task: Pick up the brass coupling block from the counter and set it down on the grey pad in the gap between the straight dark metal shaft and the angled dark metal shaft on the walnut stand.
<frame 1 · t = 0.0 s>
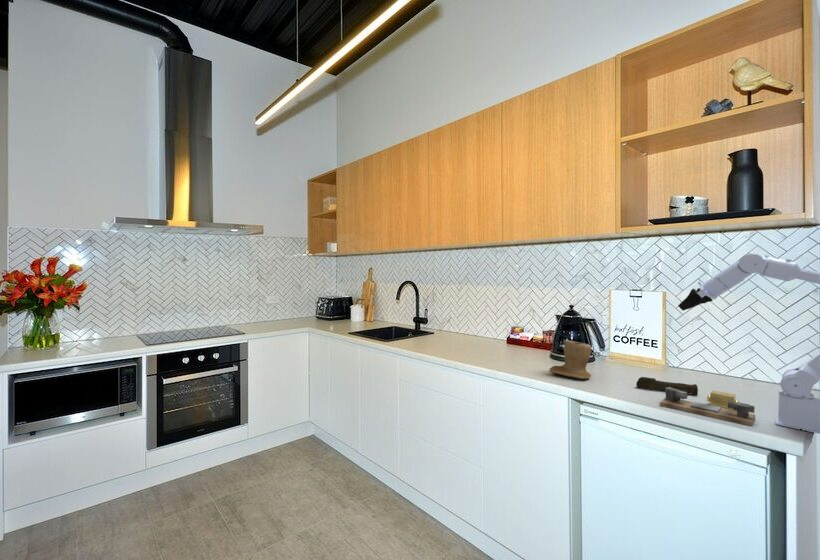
hand: (683, 307, 132), 32 cm above the countertop, tool tilted 50°, fingers open, 7 cm apart
shaft stand: (705, 411, 123), on the countertop
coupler: (722, 407, 127), on the countertop
brown flared stand: (572, 376, 164), on the countertop
hand tool: (666, 392, 143), on the countertop
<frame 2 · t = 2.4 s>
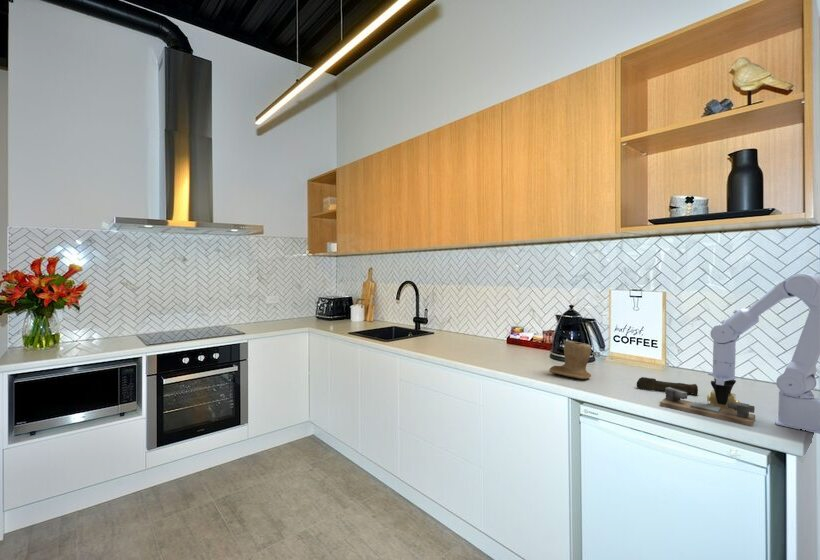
hand: (722, 402, 127), 1 cm above the countertop, tool pointing down, fingers closed on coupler, 4 cm apart
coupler: (722, 406, 127), on the countertop, touching gripper
everything else where it was.
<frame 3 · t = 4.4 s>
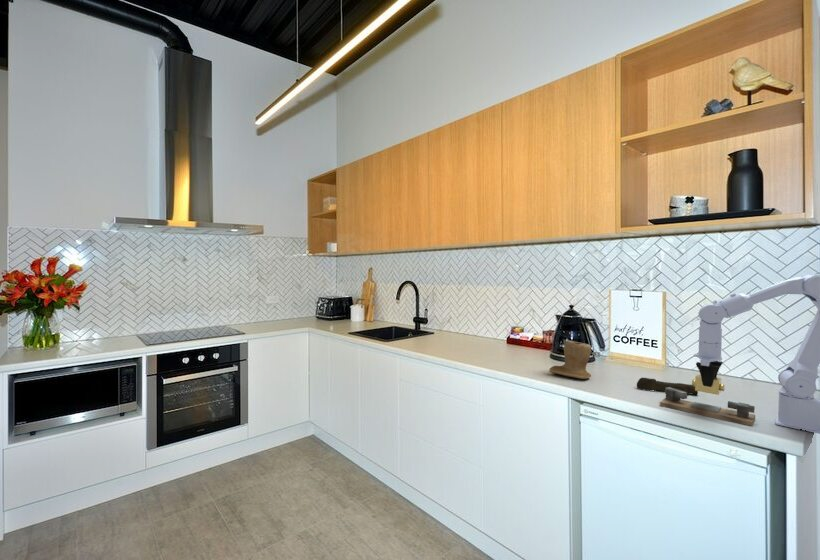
hand: (708, 384, 123), 8 cm above the countertop, tool pointing down, fingers closed on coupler, 4 cm apart
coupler: (707, 391, 124), point 6 cm above the countertop, touching gripper
everything else where it was.
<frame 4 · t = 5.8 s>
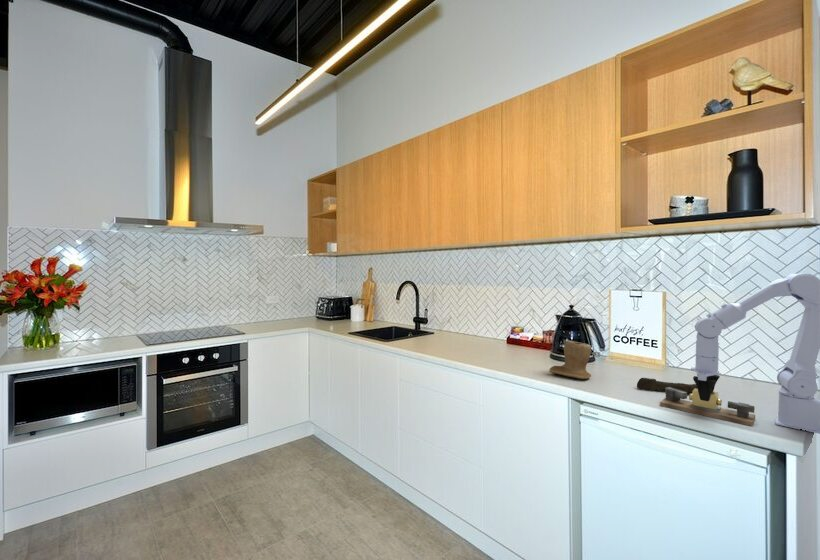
hand: (705, 398, 123), 4 cm above the countertop, tool pointing down, fingers closed on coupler, 4 cm apart
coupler: (705, 405, 123), point 2 cm above the countertop, touching gripper
everything else where it was.
when the fingers open (4 cm above the countertop, at t = 6.4 s): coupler stays where it is, resting on shaft stand.
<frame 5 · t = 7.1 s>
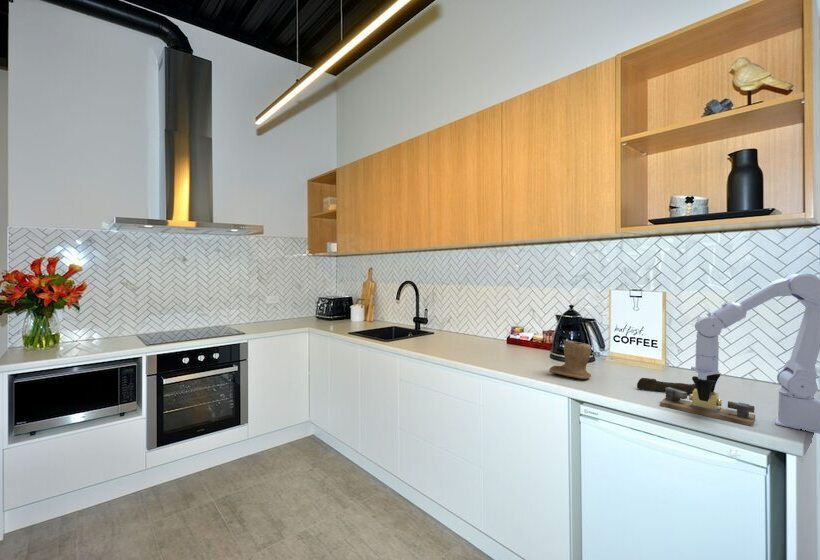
hand: (706, 397, 123), 4 cm above the countertop, tool pointing down, fingers open, 7 cm apart
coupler: (705, 406, 123), point 2 cm above the countertop, touching shaft stand
everything else where it was.
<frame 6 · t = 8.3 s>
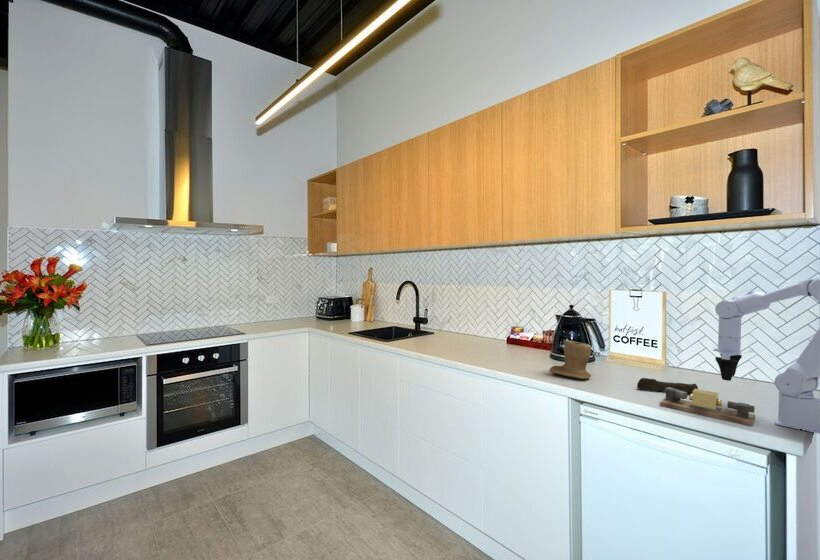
hand: (728, 377, 128), 9 cm above the countertop, tool pointing down, fingers open, 7 cm apart
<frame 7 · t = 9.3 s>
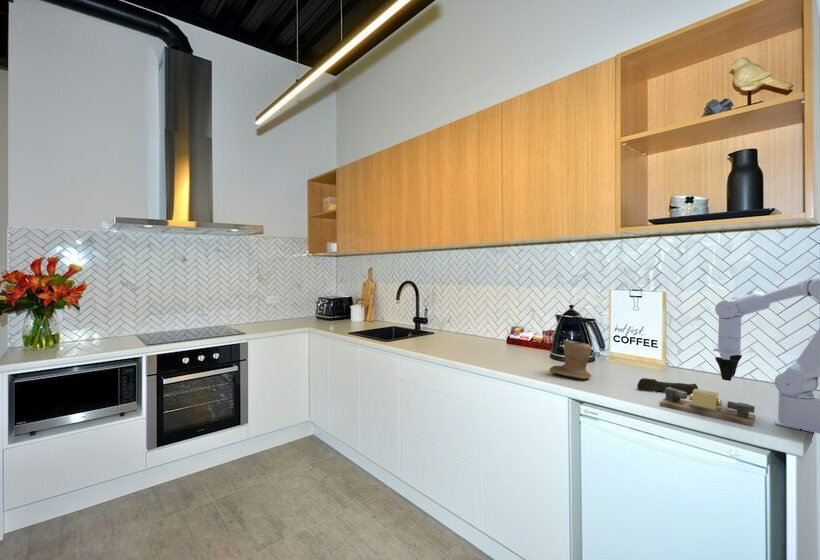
hand: (728, 377, 128), 9 cm above the countertop, tool pointing down, fingers open, 7 cm apart
at the end: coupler 0.2 cm off-centre on the shaft stand, point 1.8 cm above the shaft stand's base; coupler tilted 0°; the gripper is holding nothing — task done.
